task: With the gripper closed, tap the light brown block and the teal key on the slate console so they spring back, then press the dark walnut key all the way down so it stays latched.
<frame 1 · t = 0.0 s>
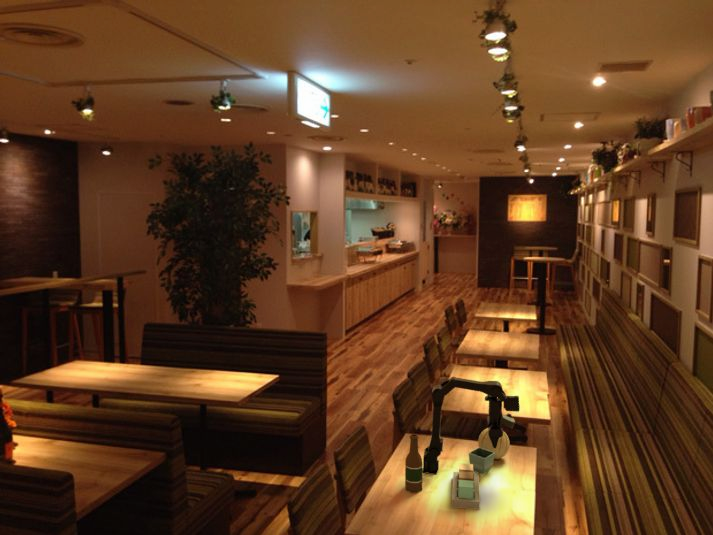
hand: (494, 443, 282), 15 cm above the table, fingers open, 9 cm apart
teal key: (465, 489, 258), point 6 cm above the table, slide at 0.0 cm
beer bottle: (413, 489, 271), on the table
flower pot: (481, 471, 287), on the table
cantaloupe: (493, 458, 302), on the table
walnut key: (465, 480, 266), point 6 cm above the table, slide at 0.0 cm
light brown block: (465, 472, 274), point 6 cm above the table, slide at 0.0 cm
console: (465, 492, 267), on the table
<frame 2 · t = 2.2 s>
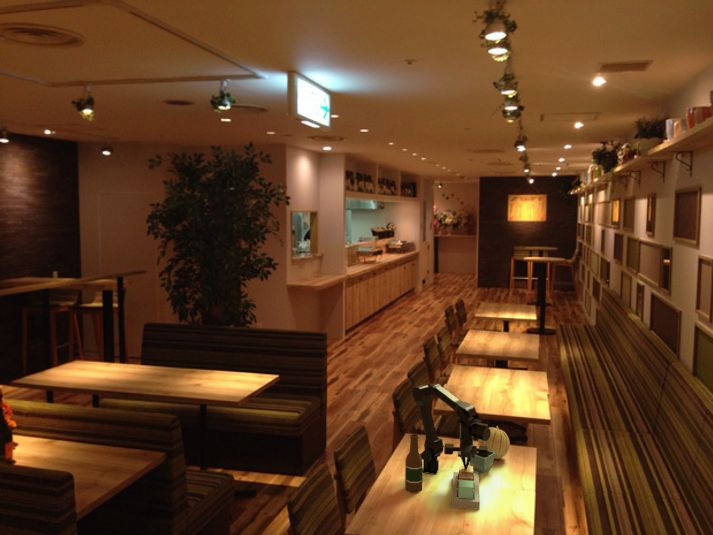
hand: (465, 468, 274), 7 cm above the table, fingers closed, pressing on light brown block
light brown block: (465, 474, 274), point 4 cm above the table, slide at 1.0 cm, touching gripper
everything else where it was.
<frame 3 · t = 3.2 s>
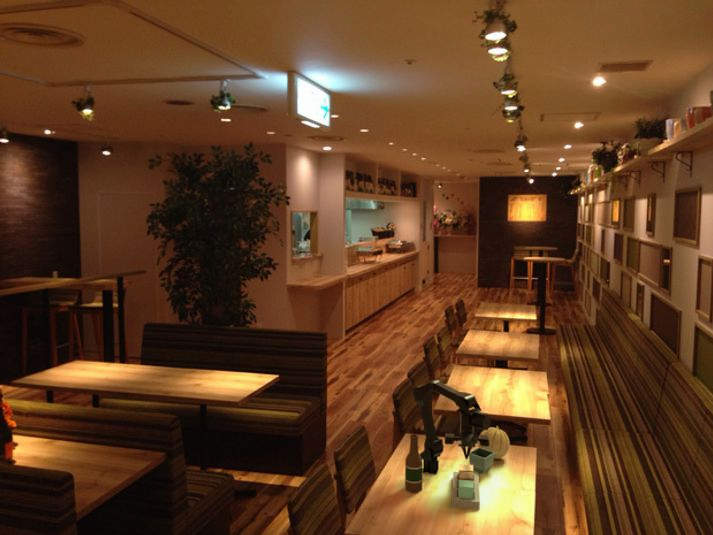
hand: (466, 458, 272), 12 cm above the table, fingers closed
light brown block: (465, 473, 274), point 5 cm above the table, slide at 0.4 cm
everything else where it was.
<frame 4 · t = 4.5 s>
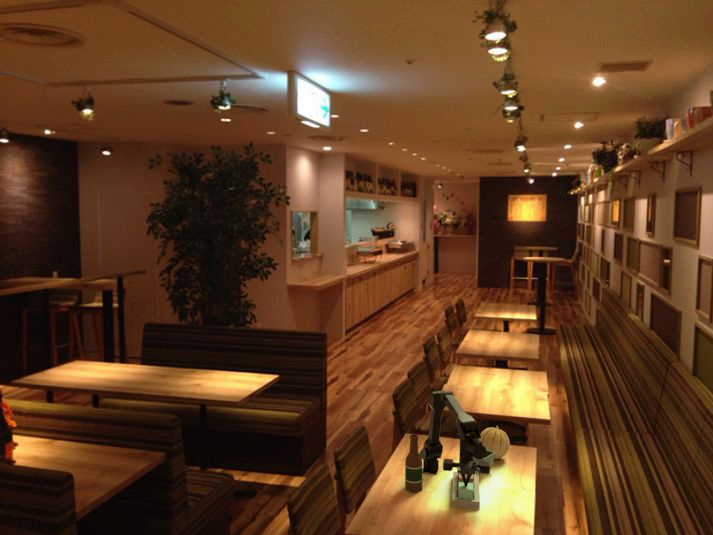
hand: (465, 485, 258), 7 cm above the table, fingers closed, pressing on teal key
teal key: (465, 491, 259), point 4 cm above the table, slide at 1.0 cm, touching gripper
everything else where it was.
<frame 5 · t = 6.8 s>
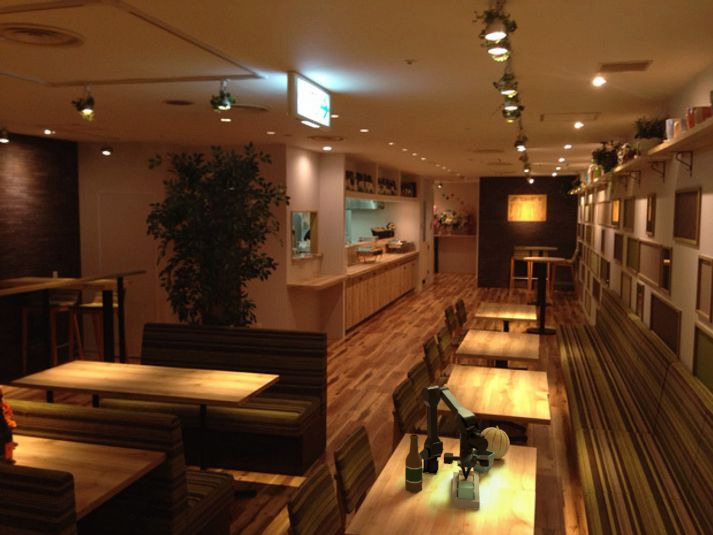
hand: (465, 478, 266), 6 cm above the table, fingers closed, pressing on walnut key
teal key: (465, 490, 258), point 5 cm above the table, slide at 0.4 cm
walnut key: (465, 484, 266), point 4 cm above the table, slide at 1.8 cm, touching gripper
everything else where it was.
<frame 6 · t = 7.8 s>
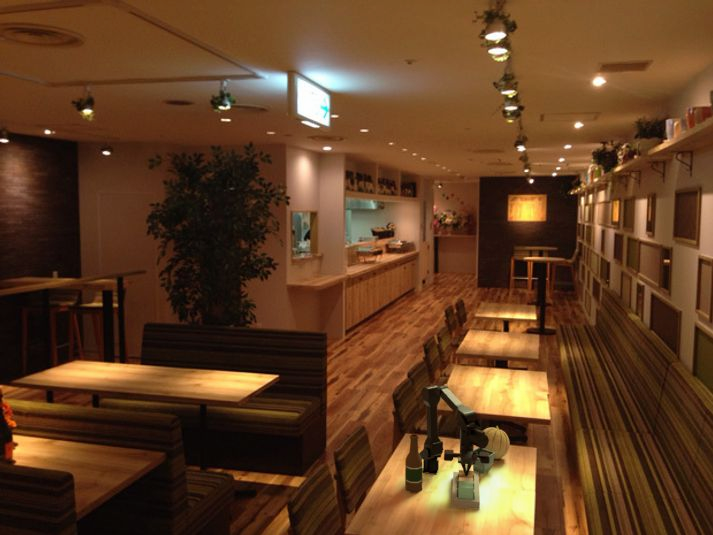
hand: (466, 475, 266), 8 cm above the table, fingers closed
walnut key: (465, 486, 267), point 3 cm above the table, slide at 2.6 cm
everything else where it was.
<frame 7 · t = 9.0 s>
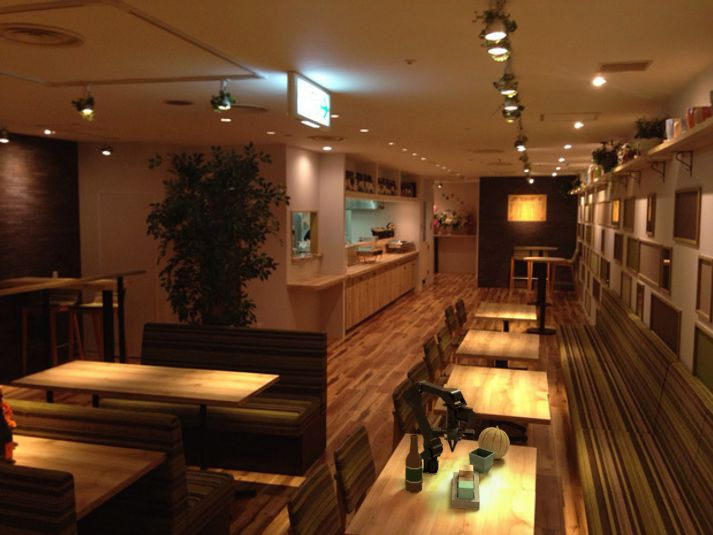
hand: (452, 452, 277), 13 cm above the table, fingers closed
nothing on the table moved.
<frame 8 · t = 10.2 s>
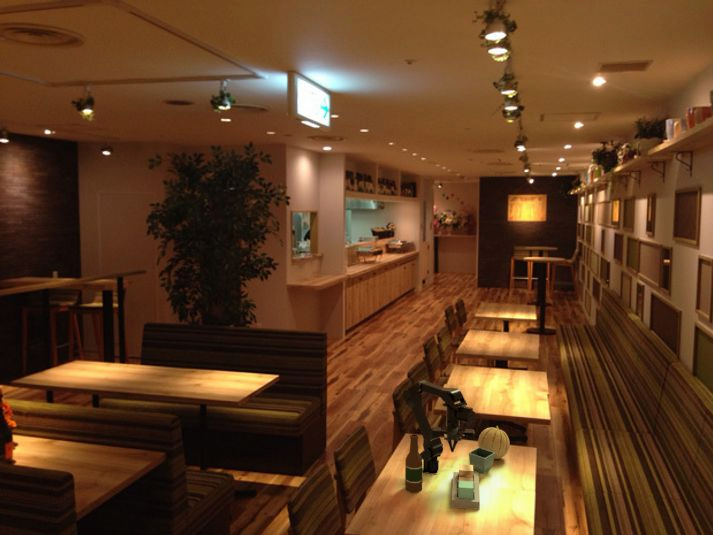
hand: (452, 452, 277), 13 cm above the table, fingers closed
nothing on the table moved.
at the end: walnut key slide at 2.6 cm; light brown block slide at 0.4 cm; teal key slide at 0.4 cm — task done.
